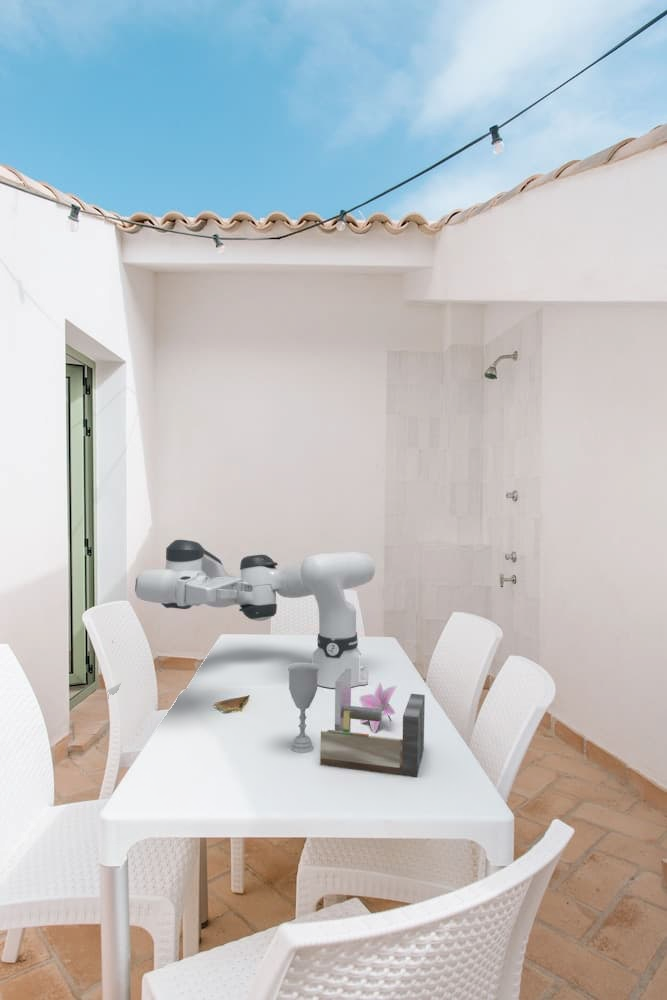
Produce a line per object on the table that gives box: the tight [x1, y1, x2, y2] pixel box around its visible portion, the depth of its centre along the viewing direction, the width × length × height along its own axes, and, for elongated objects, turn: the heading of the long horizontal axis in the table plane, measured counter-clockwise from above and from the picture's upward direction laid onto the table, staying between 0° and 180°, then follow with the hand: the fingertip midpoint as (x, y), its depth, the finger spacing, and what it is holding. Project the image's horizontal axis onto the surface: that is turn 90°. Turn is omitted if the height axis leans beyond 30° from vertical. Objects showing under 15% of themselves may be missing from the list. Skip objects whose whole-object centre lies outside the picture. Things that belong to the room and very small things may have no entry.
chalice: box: [286, 662, 320, 754], centre depth 133 cm, size 7×7×18 cm
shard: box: [213, 694, 250, 713], centre depth 158 cm, size 11×8×2 cm
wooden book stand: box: [319, 693, 426, 778], centre depth 129 cm, size 14×20×12 cm
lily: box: [358, 682, 397, 734], centre depth 147 cm, size 12×12×10 cm
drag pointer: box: [343, 711, 352, 732], centre depth 125 cm, size 1×1×9 cm
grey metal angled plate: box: [334, 668, 383, 731], centre depth 129 cm, size 11×9×15 cm
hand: (245, 590), depth 149 cm, fingers open, 8 cm apart
